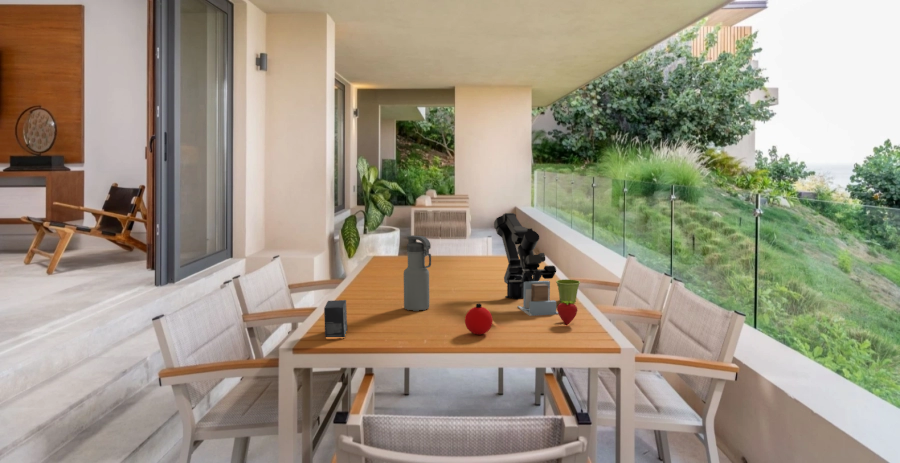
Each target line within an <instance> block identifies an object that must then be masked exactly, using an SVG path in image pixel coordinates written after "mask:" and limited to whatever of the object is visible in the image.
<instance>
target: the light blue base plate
mask: <svg viewBox="0 0 900 463" xmlns="http://www.w3.org/2000/svg"><path fill="white" fill-rule="evenodd" d="M517 308H518V309H519V310H521V311H522V312H523V313H525V314H526V315H527V316H529V317H532V316H533V317H534V316H535V317H536V316H537V315H532V314H531V313H529V309H524V308H523V306H520V305H517ZM551 315H559V314H558V311H557V310H556V314H540V315H539V316H551Z"/></svg>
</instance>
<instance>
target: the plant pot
mask: <svg viewBox="0 0 900 463" xmlns="http://www.w3.org/2000/svg"><path fill="white" fill-rule="evenodd" d="M555 282H556V284H557V285H556V286H557V289H558V296H559V302H562V301H568V299H569V301H574V303H576V301H577V296H578V290H579V287H580V283H581V281H580V280H577V279H568V278H567V279H566V278H565V279H558V280H555Z"/></svg>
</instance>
